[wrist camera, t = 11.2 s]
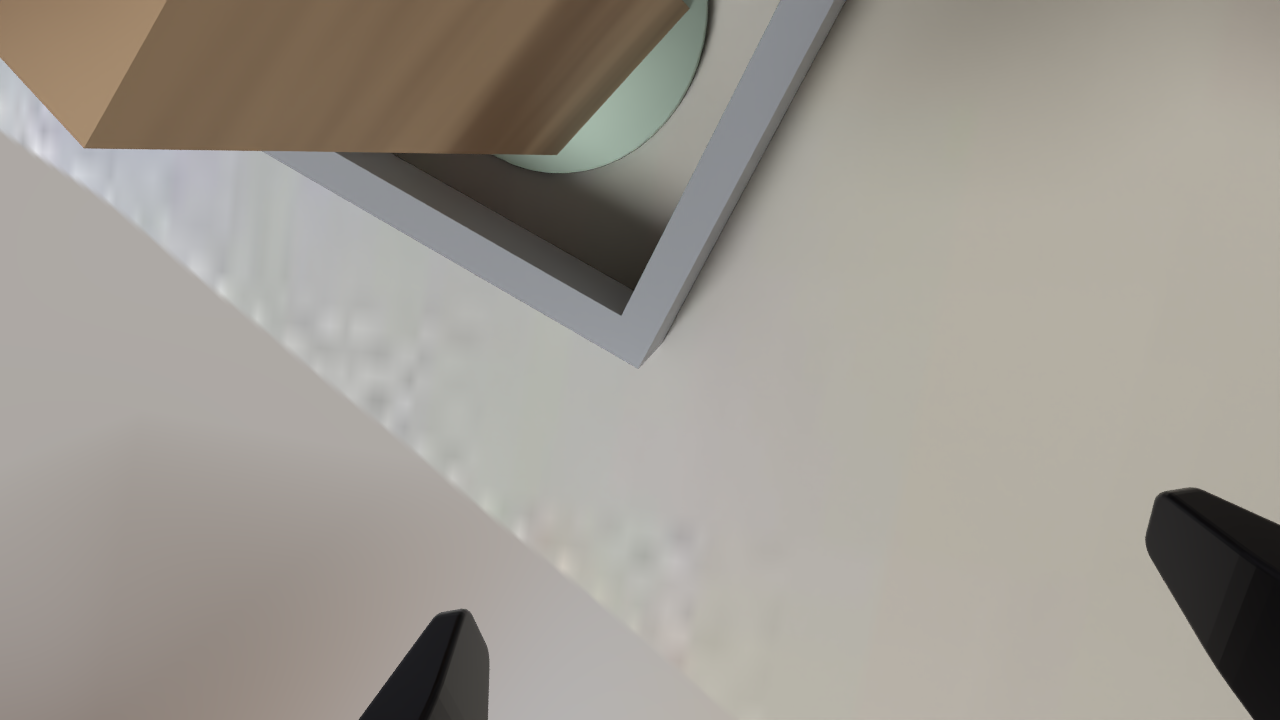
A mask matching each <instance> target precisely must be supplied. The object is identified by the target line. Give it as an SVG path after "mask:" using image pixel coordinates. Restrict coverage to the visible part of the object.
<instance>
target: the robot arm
mask: <svg viewBox="0 0 1280 720" xmlns="http://www.w3.org/2000/svg"><path fill="white" fill-rule="evenodd" d="M1145 540H1146V548H1147V551H1148V553H1149V556H1150V558H1151V559H1152V561H1153V563H1154V565H1155V566H1156V568H1157V570H1158V571H1159V573H1160V575H1161V576H1162V578H1163V580H1164V581H1165V583H1166V585H1167V587H1168V588H1169V590H1170V592H1171V593H1172V595H1173V597H1174V598H1175V600H1176V602H1177V603H1178V605H1179V607H1180V608H1181V610H1182V612H1183V614H1184V615H1185V617H1186V619H1187V620H1188V622H1189V624H1190V625H1191V627H1192V629H1193V630H1194V632H1195V634H1196V635H1197V637H1198V639H1199V641H1200V642H1201V644H1202V646H1203V647H1204V649H1205V651H1206V652H1207V654H1208V655H1209V657H1210V659H1211V660H1212V662H1213V663H1214V665H1215V666H1216V668H1217V669H1218V671H1219V672H1220V674H1221V675H1222V677H1223V678H1224V679H1225V681H1226V682H1227V684H1228V685H1229V687H1230V688H1231V689H1232V691H1233V692H1234V693H1235V695H1236V696H1237V698H1238V699H1239V700H1240V702H1241V703H1242V704H1243V706H1244V707H1245V709H1246V710H1247V711H1248V713H1249V714H1250V715H1251V717H1252V718H1253V719H1254V720H1280V525H1279V524H1277V523H1275V522H1272V521H1270V520H1268V519H1266V518H1264V517H1261V516H1259V515H1257V514H1255V513H1252V512H1250V511H1248V510H1246V509H1244V508H1241V507H1239V506H1237V505H1235V504H1233V503H1230V502H1228V501H1226V500H1224V499H1222V498H1219V497H1217V496H1215V495H1213V494H1210V493H1208V492H1206V491H1204V490H1201V489H1198V488H1182V489H1176V490H1170V491H1164V492H1162V493H1160V494H1159V495H1158V496H1157V497H1156V498H1155V501H1154V505H1153V509H1152V512H1151V516H1150V520H1149V524H1148V528H1147V532H1146V537H1145ZM488 693H489V653H488V648H487V645H486V643H485V641H484V639H483V637H482V635H481V633H480V631H479V629H478V626H477V624H476V622H475V620H474V618H473V616H472V614H471V613H470V611H468V610H467V609H458V610H452V611H446V612H441V613H439V614H438V615H436V616H435V617H434V618H433V619H432V621H431V622H430V623H429V625H428V626H427V627H426V629H425V630H424V631H423V633H422V634H421V636H420V637H419V638H418V640H417V641H416V642H415V644H414V645H413V647H412V648H411V649H410V651H409V652H408V653H407V655H406V656H405V657H404V659H403V660H402V661H401V663H400V664H399V666H398V667H397V668H396V670H395V671H394V672H393V674H392V675H391V676H390V678H389V679H388V681H387V682H386V683H385V685H384V686H383V687H382V689H381V690H380V691H379V693H378V694H377V696H376V697H375V698H374V700H373V701H372V702H371V704H370V705H369V706H368V708H367V709H366V710H365V712H364V713H363V715H362V716H361V717H360V719H359V720H488V696H489V694H488Z"/></svg>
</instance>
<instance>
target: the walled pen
mask: <svg viewBox="0 0 1280 720" xmlns="http://www.w3.org/2000/svg"><path fill="white" fill-rule="evenodd" d="M683 1H684V2H685V3H686V5H687V6H688V7H689V8H690V9H689V10H688V11H687V12H686V13H685V14H684V15H683V17H682V18H681V19H680V20H679V21H678V22H677V23H676V24H675V25H674V27H673V28H672V29H671V30H670V31H669V32H668V33H667V34H666V35H665V36H664V38H663V39H662V40H661V41H660V42H659V43H658V44H657V45H656V46H655V48H654V49H653V50H652V51H651V52H650V53H649V54H648V55H647V56H646V57H645V59H644V60H643V61H642V62H641V63H640V64H639V65H638V66H637V67H636V68H635V70H634V71H633V72H632V73H631V74H630V75H629V76H628V77H627V78H626V80H625V81H624V82H623V83H622V84H621V85H620V86H619V87H618V88H617V89H616V91H615V92H614V93H613V94H612V95H611V96H610V97H609V98H608V99H607V101H606V102H605V103H604V104H603V105H602V106H601V107H600V108H599V109H598V110H597V112H596V113H595V114H594V115H593V116H592V117H591V118H590V119H589V120H588V121H587V123H586V124H585V125H584V126H583V127H582V128H581V129H580V130H579V131H578V133H577V134H576V135H575V136H574V137H573V138H572V139H571V140H570V141H569V142H568V144H567V145H566V146H565V147H564V148H563V149H562V150H561V151H560V152H559V154H558V155H510V154H493V155H494V156H496V157H498V158H500V159H502V160H504V161H506V162H508V163H511V164H513V165H516V166H519V167H522V168H525V169H529V170H533V171H539V172H546V173H573V172H581V171H588V170H591V169H595V168H599V167H602V166H605V165H608V164H610V163H612V162H615V161H617V160H619V159H622V158H623V157H625V156H626V155H628V154H630V153H631V152H633V151H635V150H636V149H638V148H639V147H640V146H642V145H643V144H644V143H645V142H647V141H648V140H649V139H650V138H651V137H653V136H654V135H655V134H656V133H657V132H658V130H659V129H660V128H661V127H662V126H663V125H664V124H665V123H666V122H667V121H668V119H669V118H670V117H671V115H672V114H673V113H674V111H675V110H676V108H677V107H678V106H679V104H680V103H681V101H682V99H683V97H684V95H685V94H686V92H687V90H688V88H689V86H690V84H691V82H692V79H693V77H694V74H695V72H696V69H697V67H698V64H699V61H700V57H701V53H702V50H703V46H704V42H705V35H706V29H707V22H708V0H683ZM845 1H846V0H780V2H779V4H778V6H777V8H776V10H775V12H774V14H773V16H772V18H771V20H770V22H769V24H768V26H767V28H766V30H765V32H764V34H763V36H762V38H761V40H760V42H759V44H758V46H757V48H756V50H755V52H754V54H753V56H752V58H751V60H750V62H749V64H748V66H747V68H746V70H745V72H744V74H743V76H742V78H741V80H740V82H739V84H738V86H737V88H736V90H735V92H734V94H733V96H732V98H731V100H730V102H729V103H728V105H727V107H726V109H725V111H724V113H723V115H722V117H721V119H720V121H719V123H718V125H717V127H716V129H715V131H714V133H713V135H712V137H711V139H710V141H709V143H708V145H707V147H706V149H705V151H704V153H703V155H702V157H701V159H700V161H699V163H698V165H697V167H696V169H695V171H694V173H693V175H692V177H691V179H690V181H689V183H688V185H687V187H686V189H685V191H684V193H683V195H682V197H681V199H680V201H679V203H678V205H677V207H676V208H675V210H674V212H673V214H672V216H671V218H670V220H669V222H668V224H667V226H666V228H665V230H664V232H663V234H662V236H661V238H660V240H659V242H658V244H657V246H656V248H655V250H654V252H653V254H652V256H651V258H650V260H649V262H648V264H647V266H646V268H645V270H644V272H643V274H642V276H641V278H640V280H639V282H638V284H637V286H636V288H635V290H634V291H633V290H632V289H630V288H628V287H626V286H624V285H623V284H621V283H619V282H617V281H616V280H614V279H612V278H610V277H609V276H607V275H605V274H603V273H602V272H600V271H598V270H596V269H595V268H593V267H591V266H589V265H587V264H586V263H584V262H582V261H580V260H579V259H577V258H575V257H573V256H572V255H570V254H568V253H566V252H565V251H563V250H561V249H559V248H557V247H556V246H554V245H552V244H550V243H549V242H547V241H545V240H543V239H542V238H540V237H538V236H536V235H535V234H533V233H531V232H529V231H527V230H526V229H524V228H522V227H520V226H519V225H517V224H515V223H513V222H512V221H510V220H508V219H506V218H505V217H503V216H501V215H499V214H497V213H496V212H494V211H492V210H490V209H489V208H487V207H485V206H483V205H482V204H480V203H478V202H476V201H475V200H473V199H471V198H469V197H467V196H466V195H464V194H462V193H460V192H459V191H457V190H455V189H453V188H452V187H450V186H448V185H446V184H445V183H443V182H441V181H439V180H438V179H436V178H434V177H432V176H430V175H429V174H427V173H425V172H423V171H422V170H420V169H418V168H416V167H415V166H413V165H411V164H409V163H408V162H406V161H404V160H402V159H400V158H399V157H397V156H395V155H393V154H392V153H374V152H305V151H263V152H264V153H266V154H268V155H270V156H271V157H273V158H275V159H276V160H278V161H280V162H282V163H283V164H285V165H287V166H289V167H290V168H292V169H294V170H295V171H297V172H299V173H301V174H302V175H304V176H306V177H308V178H309V179H311V180H313V181H314V182H316V183H318V184H320V185H321V186H323V187H325V188H327V189H328V190H330V191H332V192H333V193H335V194H337V195H339V196H340V197H342V198H344V199H346V200H347V201H349V202H351V203H353V204H354V205H356V206H358V207H359V208H361V209H363V210H365V211H366V212H368V213H370V214H372V215H373V216H375V217H377V218H378V219H380V220H382V221H384V222H385V223H387V224H389V225H391V226H392V227H394V228H396V229H397V230H399V231H401V232H403V233H404V234H406V235H408V236H410V237H411V238H413V239H415V240H416V241H418V242H420V243H422V244H423V245H425V246H427V247H429V248H430V249H432V250H434V251H435V252H437V253H439V254H441V255H442V256H444V257H446V258H448V259H449V260H451V261H453V262H454V263H456V264H458V265H460V266H461V267H463V268H465V269H467V270H468V271H470V272H472V273H473V274H475V275H477V276H479V277H480V278H482V279H484V280H486V281H487V282H489V283H491V284H492V285H494V286H496V287H498V288H499V289H501V290H503V291H505V292H506V293H508V294H510V295H511V296H513V297H515V298H517V299H518V300H520V301H522V302H524V303H525V304H527V305H529V306H530V307H532V308H534V309H536V310H537V311H539V312H541V313H543V314H544V315H546V316H548V317H550V318H551V319H553V320H555V321H556V322H558V323H560V324H562V325H563V326H565V327H567V328H569V329H570V330H572V331H574V332H575V333H577V334H579V335H581V336H582V337H584V338H586V339H588V340H589V341H591V342H593V343H594V344H596V345H598V346H600V347H601V348H603V349H605V350H607V351H608V352H610V353H612V354H613V355H615V356H617V357H619V358H620V359H622V360H624V361H626V362H627V363H629V364H631V365H632V366H634V367H636V368H638V369H639V368H640V366H641V365H642V364H643V363H644V362H645V361H646V360H647V359H648V358H649V357H650V356H651V355H652V354H653V352H654V351H655V350H656V349H657V348H658V347H659V346H660V345H661V343H662V341H663V340H664V338H665V336H666V334H667V332H668V330H669V328H670V327H671V325H672V323H673V321H674V319H675V317H676V315H677V314H678V312H679V310H680V308H681V306H682V304H683V302H684V300H685V299H686V297H687V295H688V293H689V291H690V289H691V287H692V286H693V284H694V282H695V280H696V278H697V276H698V274H699V273H700V271H701V269H702V267H703V265H704V263H705V261H706V260H707V258H708V256H709V254H710V252H711V250H712V248H713V247H714V245H715V243H716V241H717V239H718V237H719V235H720V234H721V232H722V230H723V228H724V226H725V224H726V222H727V220H728V219H729V217H730V215H731V213H732V211H733V209H734V207H735V206H736V204H737V202H738V200H739V198H740V196H741V194H742V193H743V191H744V189H745V187H746V185H747V183H748V181H749V180H750V178H751V176H752V174H753V172H754V170H755V168H756V167H757V165H758V163H759V161H760V159H761V157H762V155H763V154H764V152H765V150H766V148H767V146H768V144H769V142H770V140H771V139H772V137H773V135H774V133H775V131H776V129H777V127H778V126H779V124H780V122H781V120H782V118H783V116H784V114H785V113H786V111H787V109H788V107H789V105H790V103H791V101H792V100H793V98H794V96H795V94H796V92H797V90H798V88H799V87H800V85H801V83H802V81H803V79H804V77H805V75H806V74H807V72H808V70H809V68H810V66H811V64H812V62H813V60H814V59H815V57H816V55H817V53H818V51H819V49H820V47H821V46H822V44H823V42H824V40H825V38H826V36H827V34H828V33H829V31H830V29H831V27H832V25H833V23H834V21H835V20H836V18H837V16H838V14H839V12H840V10H841V8H842V7H843V5H844V3H845Z"/></svg>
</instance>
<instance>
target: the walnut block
mask: <svg viewBox="0 0 1280 720" xmlns="http://www.w3.org/2000/svg"><path fill="white" fill-rule="evenodd" d="M689 9H690V8H689V7H688V6H687V5H686V3H685V2H684V1H683V0H0V58H1V59H2V60H3V61H4V62H5V63H6V64H7V65H8V66H9V67H10V68H11V70H12V71H13V72H14V73H15V74H16V75H17V76H18V77H19V78H20V79H21V80H22V81H23V83H24V84H25V85H26V86H27V87H28V88H29V89H30V90H31V91H32V92H33V93H34V94H35V96H36V97H37V98H38V99H39V100H40V101H41V102H42V103H43V104H44V105H45V106H46V108H47V109H48V110H49V111H50V112H51V113H52V114H53V115H54V116H55V117H56V118H57V119H58V121H59V122H60V123H61V124H62V125H63V126H64V127H65V128H66V129H67V130H68V131H69V132H70V134H71V135H72V136H73V137H74V138H75V139H76V140H77V141H78V142H79V143H80V144H81V145H82V147H83V148H101V149H169V150H237V151H305V152H374V153H442V154H510V155H558V154H559V152H560V151H561V150H562V149H563V148H564V147H565V146H566V145H567V144H568V142H569V141H570V140H571V139H572V138H573V137H574V136H575V135H576V134H577V133H578V131H579V130H580V129H581V128H582V127H583V126H584V125H585V124H586V123H587V121H588V120H589V119H590V118H591V117H592V116H593V115H594V114H595V113H596V112H597V110H598V109H599V108H600V107H601V106H602V105H603V104H604V103H605V102H606V101H607V99H608V98H609V97H610V96H611V95H612V94H613V93H614V92H615V91H616V89H617V88H618V87H619V86H620V85H621V84H622V83H623V82H624V81H625V80H626V78H627V77H628V76H629V75H630V74H631V73H632V72H633V71H634V70H635V68H636V67H637V66H638V65H639V64H640V63H641V62H642V61H643V60H644V59H645V57H646V56H647V55H648V54H649V53H650V52H651V51H652V50H653V49H654V48H655V46H656V45H657V44H658V43H659V42H660V41H661V40H662V39H663V38H664V36H665V35H666V34H667V33H668V32H669V31H670V30H671V29H672V28H673V27H674V25H675V24H676V23H677V22H678V21H679V20H680V19H681V18H682V17H683V15H684V14H685V13H686V12H687V11H688V10H689Z"/></svg>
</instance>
